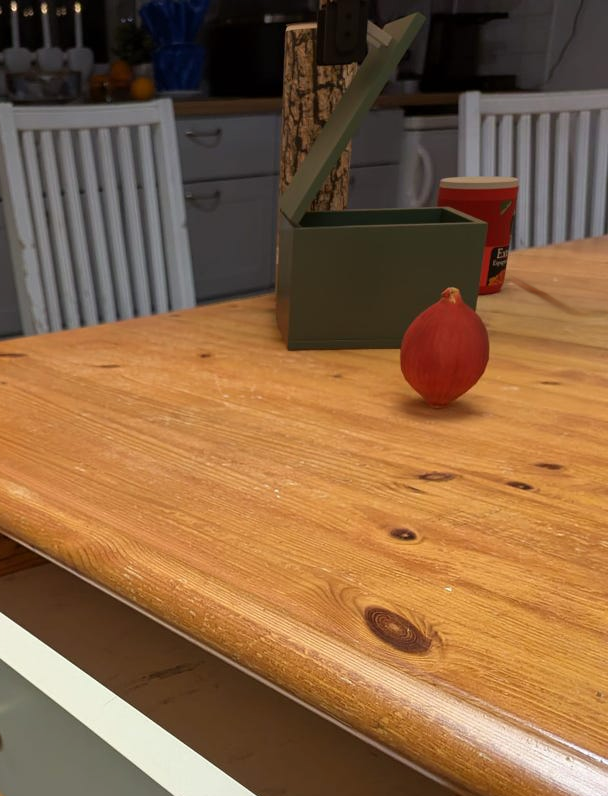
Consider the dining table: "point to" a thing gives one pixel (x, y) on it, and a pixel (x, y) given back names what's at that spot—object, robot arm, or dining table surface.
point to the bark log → (310, 116)
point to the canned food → (486, 218)
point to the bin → (371, 273)
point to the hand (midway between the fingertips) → (339, 61)
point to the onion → (445, 350)
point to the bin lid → (349, 112)
